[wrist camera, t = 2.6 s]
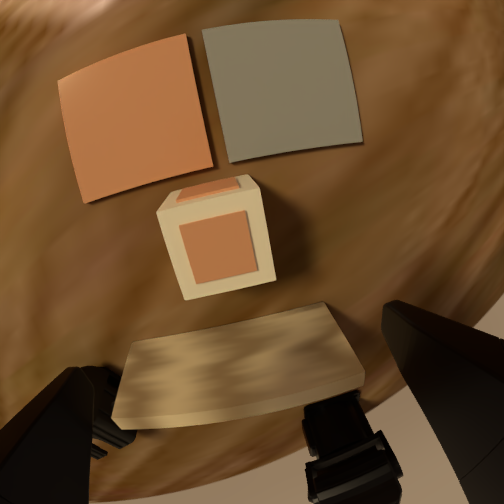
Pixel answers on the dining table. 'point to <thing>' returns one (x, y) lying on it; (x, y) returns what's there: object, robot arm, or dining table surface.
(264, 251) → the marked cube
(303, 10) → the dining table surface
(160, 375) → the beech screen
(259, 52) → the slate tile
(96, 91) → the terracotta tile
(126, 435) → the end cap
